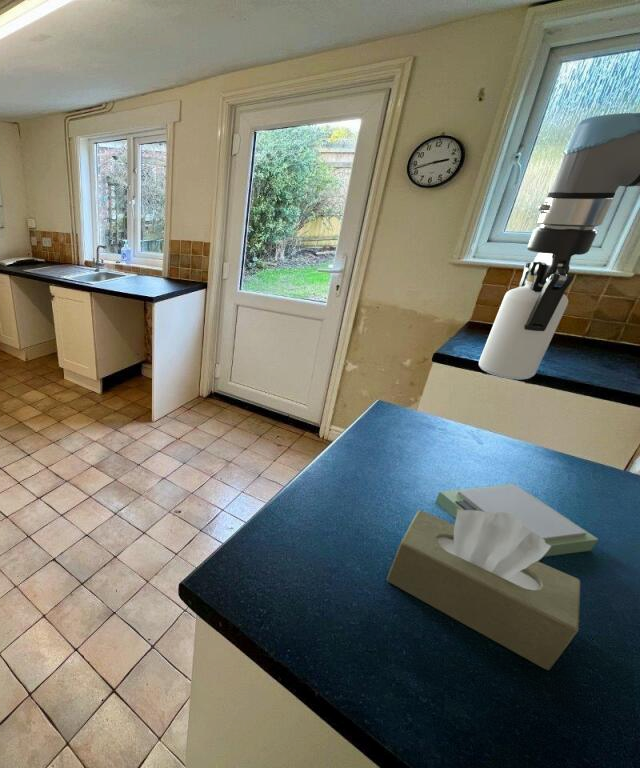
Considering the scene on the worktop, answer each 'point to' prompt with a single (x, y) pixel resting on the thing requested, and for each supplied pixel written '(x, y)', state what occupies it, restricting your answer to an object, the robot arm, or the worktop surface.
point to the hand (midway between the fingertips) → (509, 360)
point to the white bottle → (518, 335)
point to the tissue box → (490, 581)
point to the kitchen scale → (521, 515)
